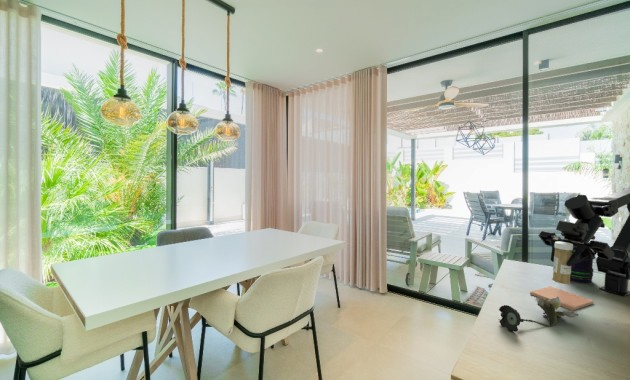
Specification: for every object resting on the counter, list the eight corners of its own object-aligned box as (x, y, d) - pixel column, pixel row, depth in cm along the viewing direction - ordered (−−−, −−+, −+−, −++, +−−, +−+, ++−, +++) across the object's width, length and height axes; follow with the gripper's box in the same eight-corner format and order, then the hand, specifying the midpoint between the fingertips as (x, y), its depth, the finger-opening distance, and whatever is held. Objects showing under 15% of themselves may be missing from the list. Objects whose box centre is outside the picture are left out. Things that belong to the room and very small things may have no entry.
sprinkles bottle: (568, 285, 86) (571, 245, 85) (550, 281, 90) (553, 242, 89) (571, 282, 89) (574, 243, 88) (553, 277, 93) (556, 240, 92)
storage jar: (557, 278, 109) (559, 242, 108) (560, 272, 116) (562, 238, 115) (592, 286, 102) (595, 247, 101) (593, 279, 108) (595, 243, 107)
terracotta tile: (550, 288, 99) (550, 286, 99) (593, 303, 88) (593, 300, 88) (530, 294, 95) (530, 291, 95) (572, 310, 84) (573, 307, 83)
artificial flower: (490, 324, 78) (488, 289, 80) (557, 328, 81) (553, 293, 83) (517, 334, 69) (514, 294, 72) (590, 338, 72) (585, 299, 74)
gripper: (543, 209, 98) (519, 240, 96) (610, 217, 80) (582, 256, 78) (557, 228, 101) (534, 259, 98) (626, 240, 83) (599, 279, 80)
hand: (559, 263), depth 89 cm, fingers closed on sprinkles bottle, 4 cm apart
